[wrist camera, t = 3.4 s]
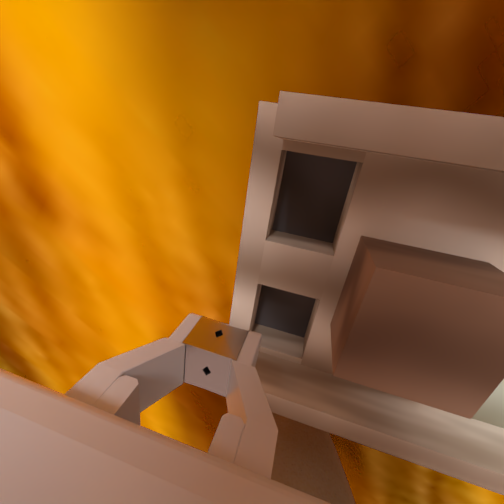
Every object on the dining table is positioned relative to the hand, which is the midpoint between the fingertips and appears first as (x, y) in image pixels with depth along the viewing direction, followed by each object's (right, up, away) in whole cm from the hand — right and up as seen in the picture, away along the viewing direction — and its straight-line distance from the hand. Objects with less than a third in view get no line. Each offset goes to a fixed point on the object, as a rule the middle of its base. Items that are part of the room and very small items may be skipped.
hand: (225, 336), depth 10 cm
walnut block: (+9, +1, +4) cm, 10 cm away
